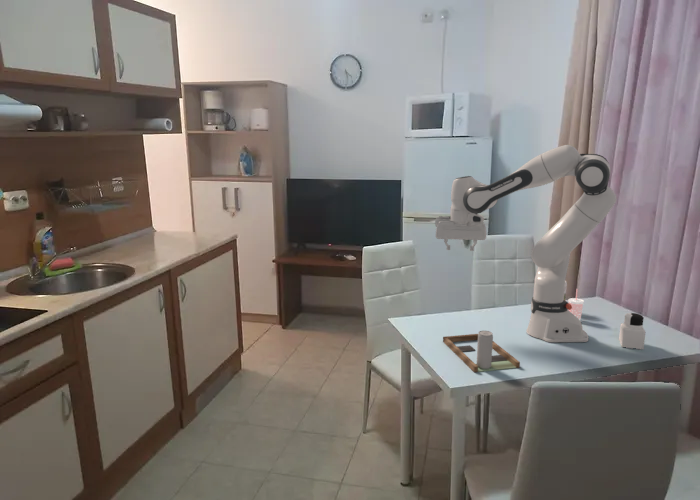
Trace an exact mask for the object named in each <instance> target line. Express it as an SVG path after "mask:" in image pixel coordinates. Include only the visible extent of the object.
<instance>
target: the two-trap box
mask: <svg viewBox="0 0 700 500" xmlns="http://www.w3.org/2000/svg"><path fill="white" fill-rule="evenodd" d="M478 334H479V333H471V334H461V335H448V336H447V335H446V336H443V337H442V343H444V344H445V345H446V346H447V347H448V348H449V349H450V351H452V352H453V353H454V354H455V355H456V356H457V357H458V358H459V359H460V360H461V362H463V363H464V364H465V365H466V366H467V367H468V368H469V369H470V371H472V372H473V373H483V372H492V371H501V370H509V369H511V370H512V369H520V368H521V367H520V366H521V362H520V361H519V360H518V359H517V358H516V357H514V356H513V355H512V354H510V352H508V351H506V350H505V349H504V348H503V347H501V346H500V345H499V344H497V343H496V342H495V341H494V340H493V344H492V350H493V351H495V352H496V353H497V354H496V355H492V362H491V367H490V368H489V369H481V368H479V367H478V366H477V363H475V362H474V361H473V360H472V359H471V358H470V357H469V356H468V355H466V354H465V352H466V353H467V352H475V351H476V349H475V348H474V347H473V346H472V345H459V346H457V345H456V344H454V343H457V342H459V343H460V342H469V341H478Z"/></svg>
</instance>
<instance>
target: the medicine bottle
mask: <svg viewBox="0 0 700 500" xmlns="http://www.w3.org/2000/svg"><path fill="white" fill-rule="evenodd" d="M644 318H645V317H644V316H643V315H641V314H639V313H635V312H628V313H625V314H624V321H623V322H622V323H620V326H619V327H620V328H619V335H618V342H619V341H620V342H619V344H620V346H621V347H622V348H623V347H626V348H625V349H633V348H636V349H635V350H642V349H643V350H644V349H645V342H646V341H645V339H646V330H645V328H644Z"/></svg>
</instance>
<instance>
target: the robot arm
mask: <svg viewBox="0 0 700 500" xmlns="http://www.w3.org/2000/svg"><path fill="white" fill-rule="evenodd" d="M610 175H611V166H610V163H609V161H608V160H607V158H606V157H604V156H602V155H600V154H597V153H580V152H579V151H578V149H577V148H576V147H575V146H573V145H572V144H571V145H570V144H564V145H560V146H557V147H555V148H551V149H549V150H546V151H545V152H542V153H540V154H538V155H536V156H535V157H533V158H531V159H530V160H528V161H527V162H526V163H524V164H522V166H519V168H517V170H515V171H514V172H511V173H510V174H509V175H507V176H505V177H503V178H501V179H499V180H496V181H494V182H492V183H490V184H486V183H482V182H480V181H478V180H477V179H475V177H473V176H471V175H466V176H461V177H455V179H453V181H452V184H451V190H450V191H451V193H450V199H451V205H450V215H449V216H447V215H445V216H442V215H440V216H438V217H436V218H435V220H434V224H435V227H436V229H435V230H436V231H435V238H436V239H438V240H443V241H444V244H445V246H446V251H451V244H448V240H466V241H468V240H469V241H471V240H472V241H473V243H472V245H470V246H469V251H471V252H473V251H475V247H476V245H477V244H478V241H485V240H486V239H487V227H486V224H485V223H484V220H485V217H484V216H483V215H482V214H481V213H484V212H485V211H487V210H489V209H491V208H493V207H494V206H495V205H497V202H498V200H499V199H502V198H503V197H506V196H509V195H510V194H513V193H515V192H519V191H522V190H526V189H532V188H539V187H542V186H545V185H547V184H551V183H553V182H555V181H557V180H559V179H562V178H564V177H565V178H566V177H569V176H571V177H575V181H576V183H577V184H578V186H579V187H580V188H581V190H582V191H583V193H582V195H581V196H580V198H578V199H577V200H576V202H574V204H573V205H572V206H571V207H570V208H569V209H568V210H567V212H565V213H564V215H562V217H561V218H560V219H559V220H558V221H557V222H556V223H555V224H554V225H553V226H552V227H551V228H550V229H549V230H548V231H547V232H546V233H545V234H544V235H543V236H542V237H541V238H540V239H539V240H538V241H537V242H536V243H535V245H534V246H533V248H532V249H531V254H530V255H531V256H530V257H531V260H532V262H533V263H534V264H535V266H537V270H536V273H535V276H534V283H533V296H532V298H531V302H530V303H531V304H530V311H531V314H530V320H529V323H528V326H527V328H526V333H527V334H528V335H529V336H531V337H533V338H536V339H540V340H543V341H545V342H547V343H584V342H585V343H586V342H588V341H589V335H588V333H587V332H586V331H585V330H584V329H583V324H582V321H581V320H579V319H578V318H577V317H576V316H575V315H574V314H572V313H571V312H570V311H569V310H571V309H572V306H571V304H569V302H568V300H567V301H566V299H565V300H563V299H564V288H565V281H566V278H567V274H568V270H569V265H570V264H569V263H570V257H571V252H573V251H574V249H576V247H578V245H580V243H582V242H583V241H584V240H585V239H586V238H587V237H588V236H589V235H590V234H591V233H592V232H593V231H594V229H595V228H596V227H597V226H598V225H599V224H600V223H601V222H602V221H603V220H604V219H605V218H606V217H607V215H608V214H609V213H610V212H611V211H612V208H613V207H614V206H615V204H616V202H617V195H616V193H615V191H614V190H613V189H612V188H611V187H610V186H608V185H609V181H610Z"/></svg>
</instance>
